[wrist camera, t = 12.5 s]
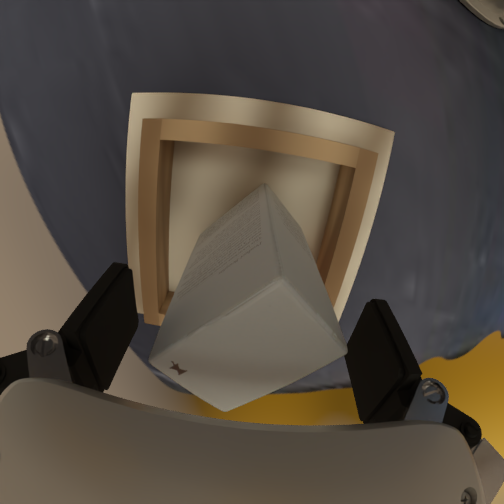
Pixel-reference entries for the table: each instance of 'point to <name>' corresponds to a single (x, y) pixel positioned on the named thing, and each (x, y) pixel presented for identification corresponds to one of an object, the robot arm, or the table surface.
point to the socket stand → (245, 183)
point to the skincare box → (248, 309)
